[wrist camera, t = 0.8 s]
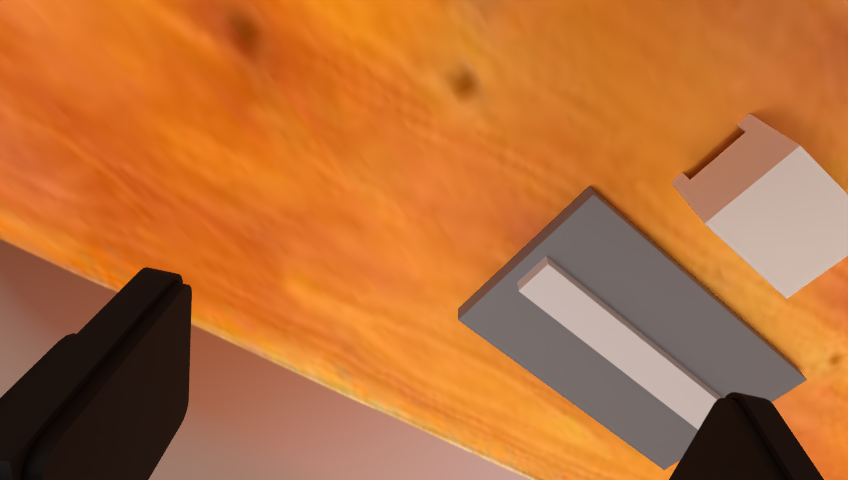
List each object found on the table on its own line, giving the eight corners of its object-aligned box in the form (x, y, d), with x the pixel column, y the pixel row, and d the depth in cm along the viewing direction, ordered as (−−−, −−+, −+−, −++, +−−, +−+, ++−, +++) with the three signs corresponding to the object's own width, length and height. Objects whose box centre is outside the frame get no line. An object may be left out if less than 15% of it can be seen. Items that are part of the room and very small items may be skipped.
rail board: (589, 186, 41) (597, 201, 38) (797, 367, 47) (815, 390, 44) (458, 308, 46) (457, 329, 44) (659, 456, 52) (668, 481, 50)
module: (749, 113, 38) (800, 145, 32) (822, 187, 40) (883, 230, 34) (670, 182, 40) (704, 223, 34) (743, 249, 42) (786, 298, 36)
